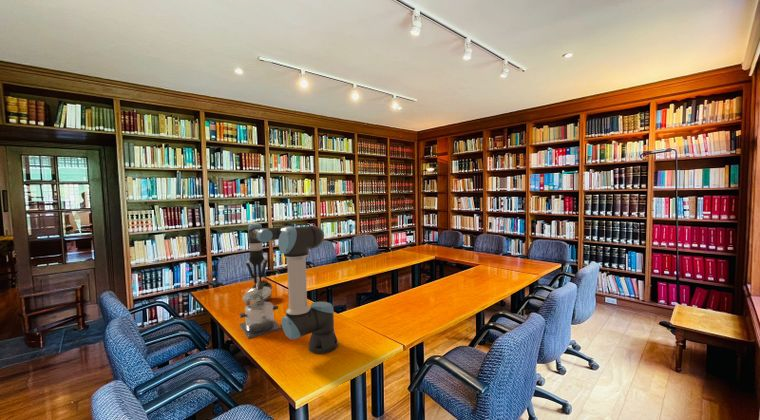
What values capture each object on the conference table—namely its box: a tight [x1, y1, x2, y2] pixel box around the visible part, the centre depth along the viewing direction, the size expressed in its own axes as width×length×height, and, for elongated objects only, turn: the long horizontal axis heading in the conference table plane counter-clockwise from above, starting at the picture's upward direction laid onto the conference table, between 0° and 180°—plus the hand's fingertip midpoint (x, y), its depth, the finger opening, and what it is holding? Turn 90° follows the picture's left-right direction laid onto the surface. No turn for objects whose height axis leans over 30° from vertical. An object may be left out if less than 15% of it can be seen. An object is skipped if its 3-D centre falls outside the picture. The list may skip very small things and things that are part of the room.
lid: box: [242, 279, 272, 304], centre depth 187 cm, size 24×17×4 cm
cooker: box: [238, 299, 283, 340], centre depth 188 cm, size 22×22×14 cm
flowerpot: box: [251, 275, 273, 303], centre depth 236 cm, size 14×15×20 cm
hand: (258, 288), depth 187 cm, fingers closed
